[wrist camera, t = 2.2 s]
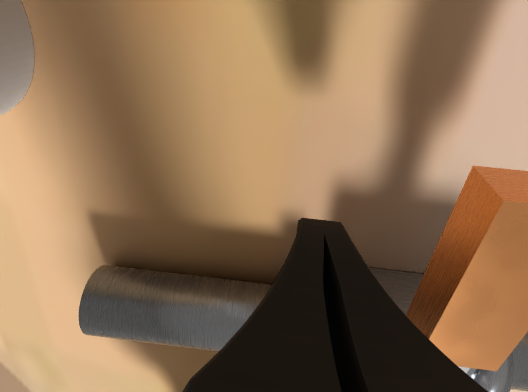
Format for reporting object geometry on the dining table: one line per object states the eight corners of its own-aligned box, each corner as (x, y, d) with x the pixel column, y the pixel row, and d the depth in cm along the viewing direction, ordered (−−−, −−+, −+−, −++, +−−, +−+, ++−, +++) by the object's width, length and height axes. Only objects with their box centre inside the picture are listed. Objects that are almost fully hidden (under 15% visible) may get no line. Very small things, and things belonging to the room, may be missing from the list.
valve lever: (416, 412, 16) (429, 464, 14) (355, 404, 16) (361, 454, 14) (569, 168, 9) (630, 213, 7) (458, 157, 9) (493, 199, 7)
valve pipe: (622, 367, 20) (697, 461, 16) (121, 306, 22) (82, 379, 18) (693, 304, 17) (807, 401, 13) (104, 237, 18) (52, 307, 15)
